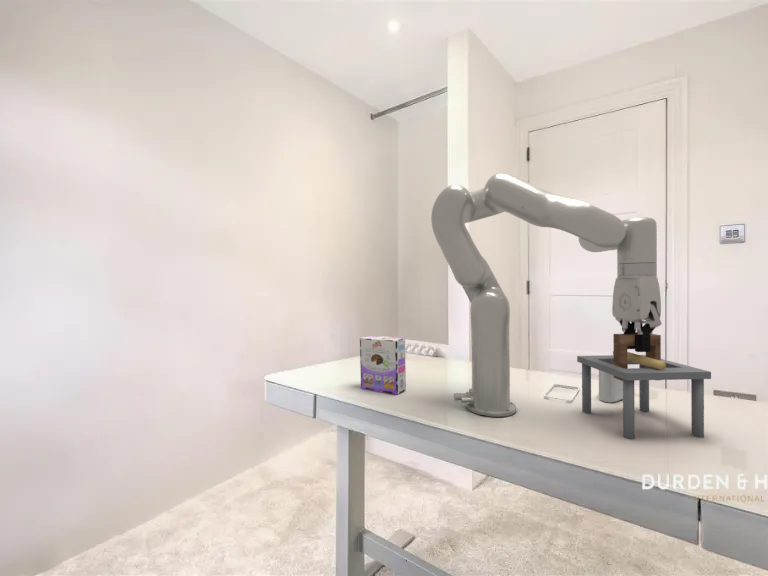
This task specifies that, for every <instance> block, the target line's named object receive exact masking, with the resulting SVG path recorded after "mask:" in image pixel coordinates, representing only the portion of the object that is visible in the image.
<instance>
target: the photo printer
mask: <svg viewBox="0 0 768 576" xmlns="http://www.w3.org/2000/svg"><path fill="white" fill-rule="evenodd" d="M598 399H599V400H600V401H602V402H604V403H610V404H612V403H616V402H619V401H623V381H621V380H619V379H616V378H614V376H613V375H611V374H608V373H606V372H603V371H600V370H598Z"/></svg>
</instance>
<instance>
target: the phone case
mask: <svg viewBox="0 0 768 576" xmlns="http://www.w3.org/2000/svg"><path fill="white" fill-rule="evenodd" d="M554 388H563V389H568V388H569V389H568V390H574V389H577V390H575V391H576V392H574V394H573V396H572V397H571V398H570V399H567V398H561V397H554V396H550V395H549V394H550V393H551V392H552V391H553V389H554ZM580 391H581V388H580V387H579V386H573V385H567V384H566V385H564V384H558V383H554V384H552V385H551V386H550V387H549V389H548V390H547V391H546V392H545V393H544V394H543V399H544V400H549V399H555V400H561V401H565V403H567V404H573V402H574V401H575V399H576V398H577V396H578V393H579V392H580ZM548 395H549V396H548ZM575 397H576V398H575Z"/></svg>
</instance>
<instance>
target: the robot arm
mask: <svg viewBox="0 0 768 576" xmlns="http://www.w3.org/2000/svg"><path fill="white" fill-rule="evenodd" d="M505 212H506V213H508V214H510V215H512V216H514V217H517V218H519V219H521V220H522V221H525V222H526V223H529V224H531V225H532V226H533V225H534V226H536V227H540V228H549V229H550V228H551V229H556V230H559V231H562V232H566V233H569V235H570V234H571V235H573V236H575V237H577V238H578V242H579V245H580V246H581V247H582V249H584V250H586V251H587V252H590V253H602V252H608V251H614V250H615V251H616V254H617V255H616V258H617V259H616V262H617V263H616V264H617V266H616V267H617V268H616V269H617V270H616V271H617V272H616V275H617V277H616V278H615V281H614V284H613V285H614V286H613V294H612V308H611V309H612V310H611V312H612V317H614V319H615V320H616V321H617V322H618V323H619V325H620V326H621V331H622V332H623V334H635V346H627V350H634V351H635V352H636V353H646V352H650V335H652V334H654V330H656V328H658V327H660V326H662V321H661V314H662V297H661V291H660V290H661V289H660V288H661V287H660V283H659V279H658V274H657V271H658V269H657V268H658V264H657V262H658V257H657V256H658V255H657V253H658V252H657V251H658V250H657V247H658V246H657V245H658V243H657V241H658V239H657V238H658V237H657V236H658V235H657V232H658V231H657V221H656V220H655V218H654V217H644V216H643V217H631V218H626V219H623V220H621V219H620V218H619V217H617V216H616V215H615V214H613V213H610V212H609V211H606V210H604V209H601V208H599V207H597V206H594V205H592V204H590V203H588V202H583V201H582V200H578V199H574V198H570V197H566V196H563V195H559V194H554V193H553V192H550V191H547V190H545V189H543V188H540V187H538V186H536V185H533V184H531V183H529V182H527V181H525V180H523V179H520V178H518V177H515V176H513V175H511V174H508V173H504V172H499V173H495V174H493V175H492V176H490V178H488V180H487V181H486V183H485V185H484V187H483V188H481V189H480V188H479V189H477V190H473V191H470V190H468V189H467V188H466V187H465V186H462V185H460V184H451V185H448V186H447V187H445V188H443V190H442V191H440V193H439V194H438V195H437V197H436V199H435V201H434V203H433V205H432V209H431V217H430V218H431V219H430V220H431V227H432V232H433V235H434V237H435V240H436V242H437V244H438V246H439V248H440V250H441V252H442V254H443V257H444V258H445V260H446V262H447V263H448V264H447V265H448V266H449V268H450V271H451V273H452V274H453V277H454V280H455V281H456V282H457V283H458V284H459V285H460V286H462V289H463V291H464V292H465V294H466V296H467V298H468V300H469V302H470V327H471V328H470V331H471V333H470V334H471V388H468V391H466V392H465V393H462V392H456V393H454V394H453V399H454V401H455V402H456V401H457V402H458V401H460V402H461V403H463V404H464V403H465V406H466V408H467V410H468V411H470V412H471V413H473V414H477V415H481V416H485V417H493V418H499V417H501V418H502V417H510V416H513V415H514V414H515V413H516V412H517V405H516V404H515V403H514V402H512V401H511V398H510V397H511V393H510V392H511V389H510V388H511V387H510V386H511V384H510V379H511V374H510V373H511V371H510V370H511V369H510V368H511V366H510V364H511V363H510V362H511V361H510V359H511V358H510V357H511V356H510V318H511V315H510V313H511V308H510V302H509V300H508V299H509V298H508V297H507V296H506V294H505V292H504V291H503V289H502V287H501V285H500V284H499V283H500V282H498V280H497V278H496V277H495V274H494V273H493V271H492V268H491V267H490V265H489V264H488V262H487V260H486V259H485V258H484V257H483V256H482V253H481V252H480V251H479V249H478V248H477V246H476V244H475V242H474V241H473V238H472V236H471V234H470V232H469V230H468V228H467V227H466V224H468V223H471V222H475V221H479V220H482V219H486V218H489V217H493V216H496V215H499V214H503V213H505ZM643 324H644V325H643Z"/></svg>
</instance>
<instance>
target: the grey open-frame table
mask: <svg viewBox="0 0 768 576" xmlns="http://www.w3.org/2000/svg"><path fill="white" fill-rule="evenodd" d="M576 359H577V361H576V362H577V363H580V364H581V410H582V411H581V412H582V413H584V412H585V414H591V413H592V368H593V369H596V370H598V371H599V370H600V371H603V372H606V373H608V374H611V375H613V376H616V377H619V378H621V379H623V399H622V436H623V438H625V439H629V440H634V439H635V438H636V437H635V429H636V428H635V423H636V422H635V420H636V418H635V381H639V386H638V387H639V393H638V394H639V401H638V402H639V411H641V412H643V411H644V413H649V412H650V381H667V380H668V381H669V380H671V381H672V380H690V381H691V390H690V391H691V392H690V393H691V397H690V398H691V435H692V436H693V437H695V438H704V437H705V380H711V379H712V371H709V370H706V369H701V368H697V367H694V366H691V365H686V364H682V363H677V362H674V361H671V360H667V359H663V358H661V361H660V360H656V359H653V358H649V357H646V354H637V353H633V352H629V351H627V361H628V365H639V368H638V367H637V368H631V367H630V368H629V367H628V369H625V368H622V367H619V366H616V365H614V350H613V351H612V354H611V355H608V354H607V355H605V354H604V355H577V357H576ZM646 366H648V367H651V368H646Z"/></svg>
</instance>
